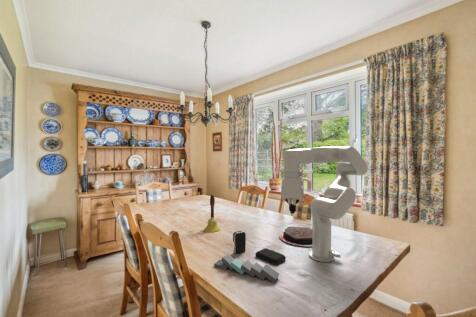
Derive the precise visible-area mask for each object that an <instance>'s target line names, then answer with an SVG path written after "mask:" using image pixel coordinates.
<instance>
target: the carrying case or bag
mask: <svg viewBox="0 0 476 317" xmlns="http://www.w3.org/2000/svg"><path fill="white" fill-rule="evenodd" d="M255 258H258V259H260V260H262V261H264V262H267V263H269V264H271V265H275V266H276V265H279V264H281V263H283V262H285V261H286V259H287V258H286V255H284V254H283V253H280V252H277V251H276V250H275V251H274V250H272V249H269V248H267V247H266V248H262V249H260V250H258V251H256V252H255Z"/></svg>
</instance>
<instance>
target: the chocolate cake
mask: <svg viewBox="0 0 476 317" xmlns="http://www.w3.org/2000/svg"><path fill="white" fill-rule="evenodd" d="M279 238H280V240H281V242H284V243H286V244H289V245H291V246H295V247H303V248H312V228H310V227H307V226H306V227H305V226H288V227H286V228H285V229H284V231H283V232H281V233H280V234H279Z"/></svg>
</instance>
